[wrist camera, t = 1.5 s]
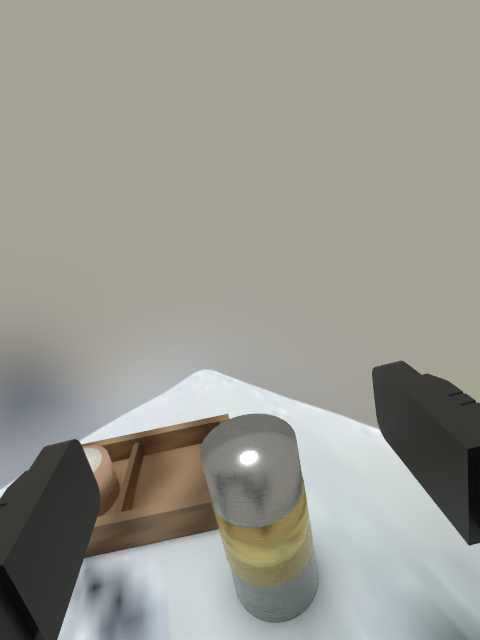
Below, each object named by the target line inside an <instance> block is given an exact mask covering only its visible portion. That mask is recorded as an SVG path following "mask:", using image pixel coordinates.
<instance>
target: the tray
mask: <svg viewBox="0 0 480 640" xmlns="http://www.w3.org/2000/svg"><path fill="white" fill-rule="evenodd" d="M227 420H229V416H228V414H225V415H221V416H216V417H211V418H206V419H201V420H197V421H192V422H187V423H182V424H178V425H173V426H168V427H163V428H158V429H154V430H149V431H144V432H139V433H134V434H130V435H125V436H120V437H115V438H111V439H106V440H101V441H96V442H91V443H87V444H82V447H84V446H89V445H98V446H102V447H104V448H105V449H106V450H107V451H108V454H109V456H110V459H111V462H112V464H113V467H114V470H115V472H116V475H117V478H118V480H119V483H120V493H119V496H118V498H117V500H116V502H115V503H114V504H113V506H112V507H111V508H110V509H109V510H108V511H107V512H106V513H105V514H103V515H102V516H100V517H97V520H96V523H95V526H94V529H93V532H92V535H91V538H90V541H89V544H88V547H87V550H86V553H85V556H84V558H85V557H89V556H94V555H98V554H103V553H108V552H112V551H117V550H122V549H126V548H131V547H136V546H140V545H145V544H150V543H154V542H159V541H163V540H168V539H173V538H177V537H182V536H187V535H191V534H196V533H201V532H205V531H210V530H214V529H219V528H218V524H217V520H216V517H215V513H214V510H213V506H212V502H211V496H210V492H209V488H208V485H207V481H206V477H205V474H204V470H203V467H202V463H201V459H200V448H201V445H202V443H203V440H204V439H205V437H206V436H207V435H208V434H209V433H210V432H211V431H212V430H213V429H214V428H215V427H217V426H218V425H220V424H221V423H223V422H225V421H227Z"/></svg>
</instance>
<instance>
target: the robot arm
mask: <svg viewBox="0 0 480 640" xmlns="http://www.w3.org/2000/svg"><path fill="white" fill-rule="evenodd" d="M372 379H373V388H374V398H375V407H376V416H377V421H378V424H379V428H380V430H381V433H382V435H383V437H384V438H385V440H386V441H387V442H388V444H389V445H390V446H391V448H392V449H393V450H394V451H395V453H396V454H397V455H398V456H399V458H400V459H401V460H402V461H403V463H404V464H405V465H406V466H407V468H408V469H409V470H410V472H411V473H412V474H413V475H414V477H415V478H416V479H417V480H418V482H419V483H420V484H421V485H422V487H423V488H424V489H425V491H426V492H427V493H428V494H429V496H430V497H431V498H432V499H433V501H434V502H435V503H436V504H437V506H438V507H439V508H440V509H441V511H442V512H443V513H444V515H445V516H446V517H447V518H448V520H449V521H450V522H451V523H452V525H453V526H454V527H455V528H456V530H457V531H458V532H459V533H460V535H461V536H462V537H463V539H464V540H465V541H466V542H467V544H468V545H469V546H470V545H473V544H477V543H480V403H476V401H475V400H474V399H473V398H471V397H470V396H469V395H467V394H463V391H461V390H460V389H459V388H457V387H456V386H454V385H453V384H452V383H450V382H449V381H447V380H444V379H441V378H438V377H436V376H432V375H430V374H424V375H421V374H420V373H418V372H417V371H416V370H415V369H413V368H412V367H411V366H409V365H408V364H406V363H405V362H404V361H398V362H394V363H389V364H385V365H381V366H377V367H374V369H373V371H372ZM100 502H101V498H100V490H99V486H98V483H97V481H96V478H95V476H94V474H93V471H92V469H91V466H90V464H89V462H88V459H87V457H86V454H85V452H84V449H83V447H82V445H81V443H80V442H79V441H78V440H76V439H73V440H69V441H65V442H61V443H57V444H52V445H48V446H46V447H44V448H43V449H42V451H41V452H40V454H39V455H38V457H37V458H36V460H35V461H34V463H33V465H32V466H31V468H30V469H29V470H28V471H25V472H24V473H23V474H22V475H21V476H20V477H19V478H18V479H17V480H16V481H14V482H13V483H12V484H11V485H10V486H9V487H8V488H7V489H6V491H5V492H4V494H3V495H2V497H1V498H0V640H57V639H58V636H59V632H60V629H61V626H62V623H63V620H64V617H65V614H66V611H67V608H68V605H69V602H70V599H71V596H72V593H73V590H74V587H75V584H76V581H77V578H78V575H79V571H80V568H81V565H82V562H83V559H84V556H85V553H86V550H87V547H88V544H89V541H90V538H91V535H92V532H93V529H94V526H95V523H96V520H97V517H98V513H99V510H100Z"/></svg>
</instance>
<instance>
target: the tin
mask: <svg viewBox="0 0 480 640" xmlns="http://www.w3.org/2000/svg"><path fill="white" fill-rule="evenodd" d="M200 459H201V463H202V467H203V470H204V474H205V477H206V481H207V485H208V488H209V492H210V496H211V502H212V506H213V510H214V513H215V517H216V520H217V524H218V528H219V531H220V535H221V539H222V542H223V546H224V550H225V553H226V557H227V560H228V563H229V565H230V569H231V572H232V576H233V579H234V583H235V587H236V590H237V594H238V597H239V599H240V601H241V603H242V605H243V606H244V607H245V609H246V610H247V611H248V612H249V613H250V614H252V615H253V616H255V617H256V618H259V619H261V620H264V621H267V622H284V621H287V620H291V619H293V618H295V617H297V616H298V615H300V614H301V613H302V612H303V611H305V610H306V608H307V607H308V606H309V605H310V603H311V602H312V600H313V598H314V596H315V593H316V590H317V585H318V573H317V567H316V560H315V554H314V548H313V537H312V531H311V524H310V518H309V512H308V505H307V499H306V492H305V486H304V480H303V477H302V472H301V466H300V460H299V453H298V447H297V441H296V435H295V432H294V430H293V429H292V427H291V426H290V425H289V424H288V423H287V422H286V421H284V420H282V419H280V418H278V417H276V416H272V415H267V414H247V415H242V416H238V417H235V418H232V419H229V420H227V421H225V422H223V423H221V424H220V425H218V426H217V427H215V428H214V429H213V430H212V431H211V432H210V433H209V434H208V435H207V436H206V437H205V439H204V440H203V443H202V445H201V448H200Z"/></svg>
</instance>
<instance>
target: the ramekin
mask: <svg viewBox="0 0 480 640" xmlns="http://www.w3.org/2000/svg"><path fill="white" fill-rule="evenodd" d="M83 449H84V452H85V454H86V457H87V459H88V462H89V464H90V466H91V469H92V471H93V474H94V476H95V478H96V481H97V483H98V486H99V490H100V498H101V502H100V510H99V513H98V517H100V516H102V515H103V514H105V513H106V512H107V511H108V510H109V509H110V508H111V507H112V506H113V504H114V503H115V502H116V500H117V498H118V496H119V493H120V483H119V480H118V478H117V475H116V472H115V470H114V467H113V464H112V462H111V459H110V456H109V454H108V451H107V450H106V449H105V448H104V447H102V446H98V445H89V446H84V447H83Z"/></svg>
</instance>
